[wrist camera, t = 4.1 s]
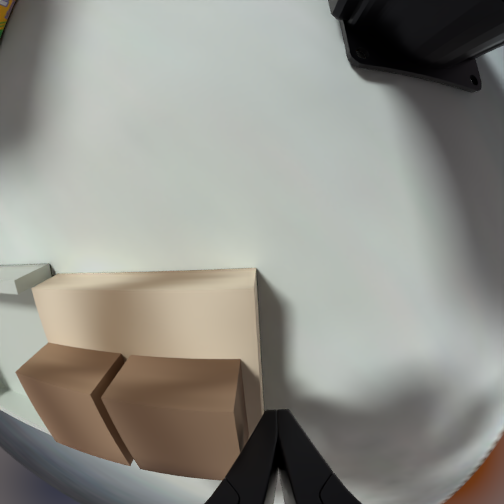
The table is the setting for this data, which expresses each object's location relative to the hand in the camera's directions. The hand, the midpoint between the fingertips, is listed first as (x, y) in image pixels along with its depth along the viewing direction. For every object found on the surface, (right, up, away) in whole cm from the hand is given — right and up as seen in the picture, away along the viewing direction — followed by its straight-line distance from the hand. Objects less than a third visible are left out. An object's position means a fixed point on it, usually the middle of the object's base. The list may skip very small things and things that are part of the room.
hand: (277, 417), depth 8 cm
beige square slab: (-5, +1, +3) cm, 6 cm away
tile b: (-7, 0, +1) cm, 8 cm away
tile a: (-3, 0, +1) cm, 3 cm away
